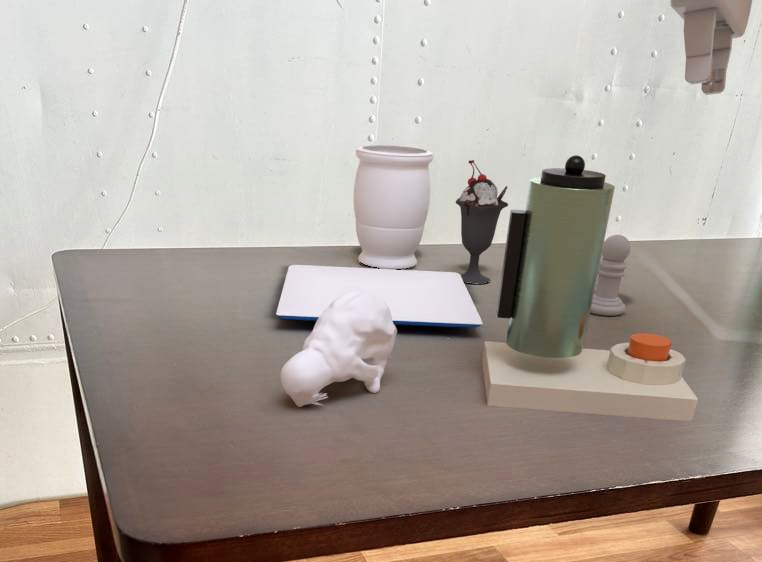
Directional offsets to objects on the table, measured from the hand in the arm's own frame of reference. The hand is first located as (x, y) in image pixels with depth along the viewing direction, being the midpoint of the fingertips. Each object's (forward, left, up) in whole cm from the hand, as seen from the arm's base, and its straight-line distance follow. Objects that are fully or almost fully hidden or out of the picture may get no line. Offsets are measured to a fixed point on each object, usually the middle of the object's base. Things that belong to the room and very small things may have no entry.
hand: (705, 88), depth 68 cm
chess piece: (-1, -24, -25) cm, 35 cm away
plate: (+27, -18, -26) cm, 42 cm away
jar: (+27, -41, -25) cm, 56 cm away
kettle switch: (+1, +5, -22) cm, 22 cm away
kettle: (+11, +4, -21) cm, 24 cm away
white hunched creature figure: (+29, +11, -25) cm, 40 cm away
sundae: (+15, -35, -25) cm, 46 cm away
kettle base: (+6, +5, -25) cm, 26 cm away
